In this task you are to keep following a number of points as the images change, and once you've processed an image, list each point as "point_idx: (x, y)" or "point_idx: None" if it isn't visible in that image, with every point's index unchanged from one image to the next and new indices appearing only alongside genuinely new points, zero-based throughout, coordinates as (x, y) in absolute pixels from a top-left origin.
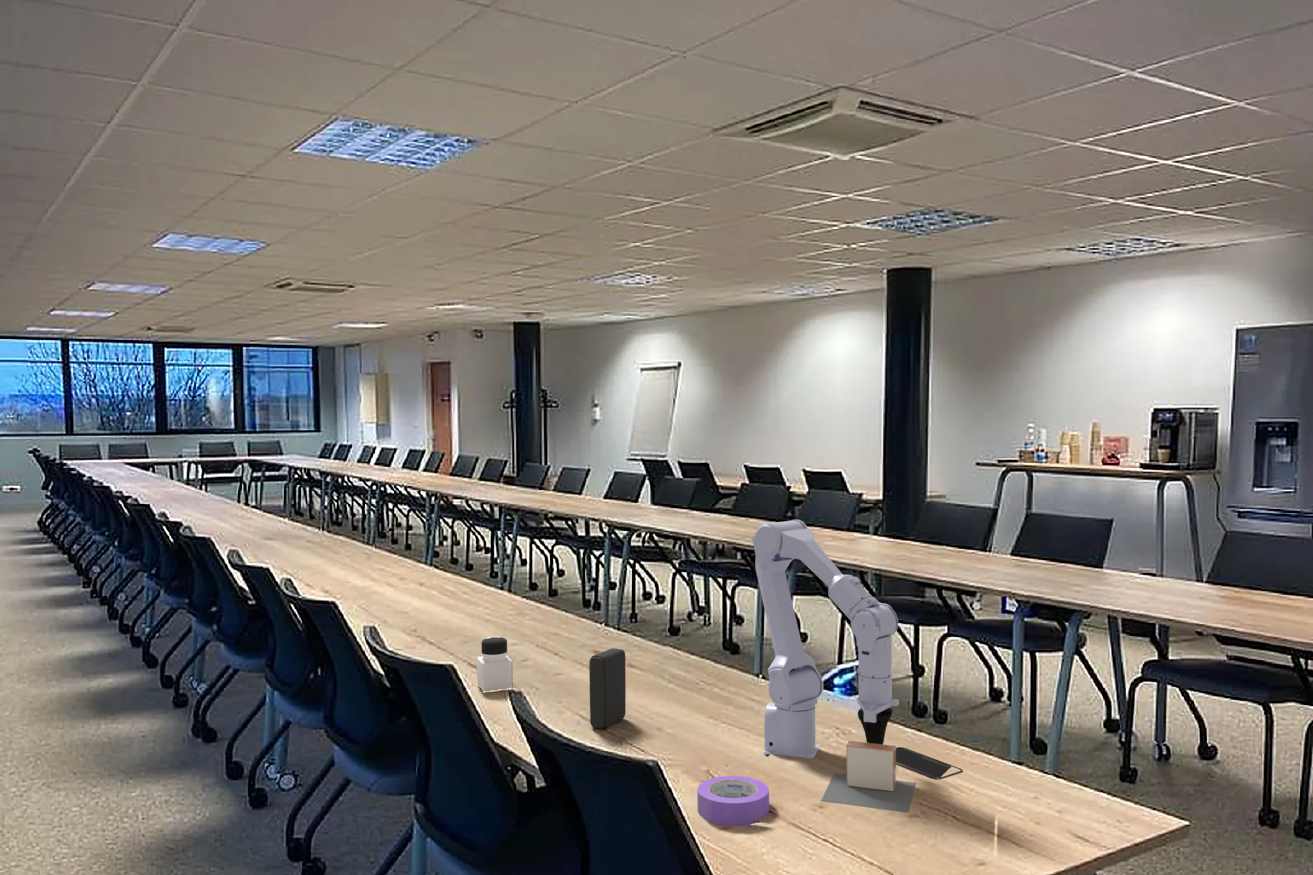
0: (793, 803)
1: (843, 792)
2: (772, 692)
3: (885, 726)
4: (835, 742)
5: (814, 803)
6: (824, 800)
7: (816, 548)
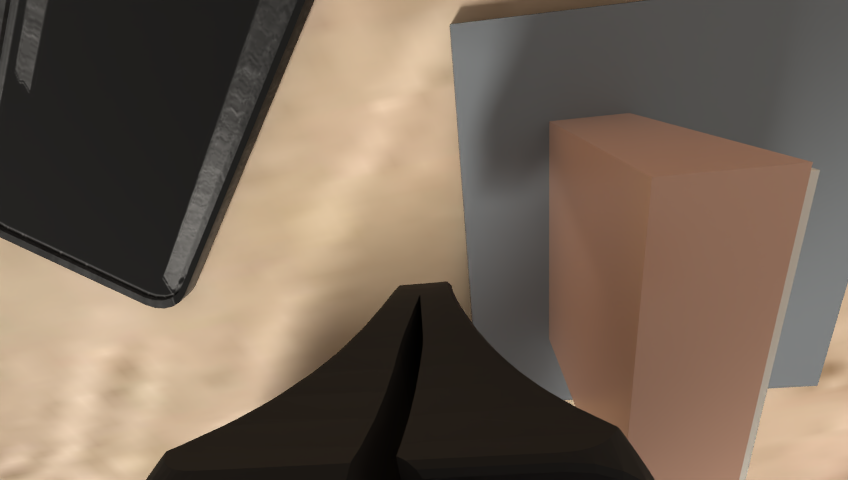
0: (807, 453)
1: None
2: None
3: (550, 395)
4: (107, 463)
5: (795, 395)
6: (814, 374)
7: None
